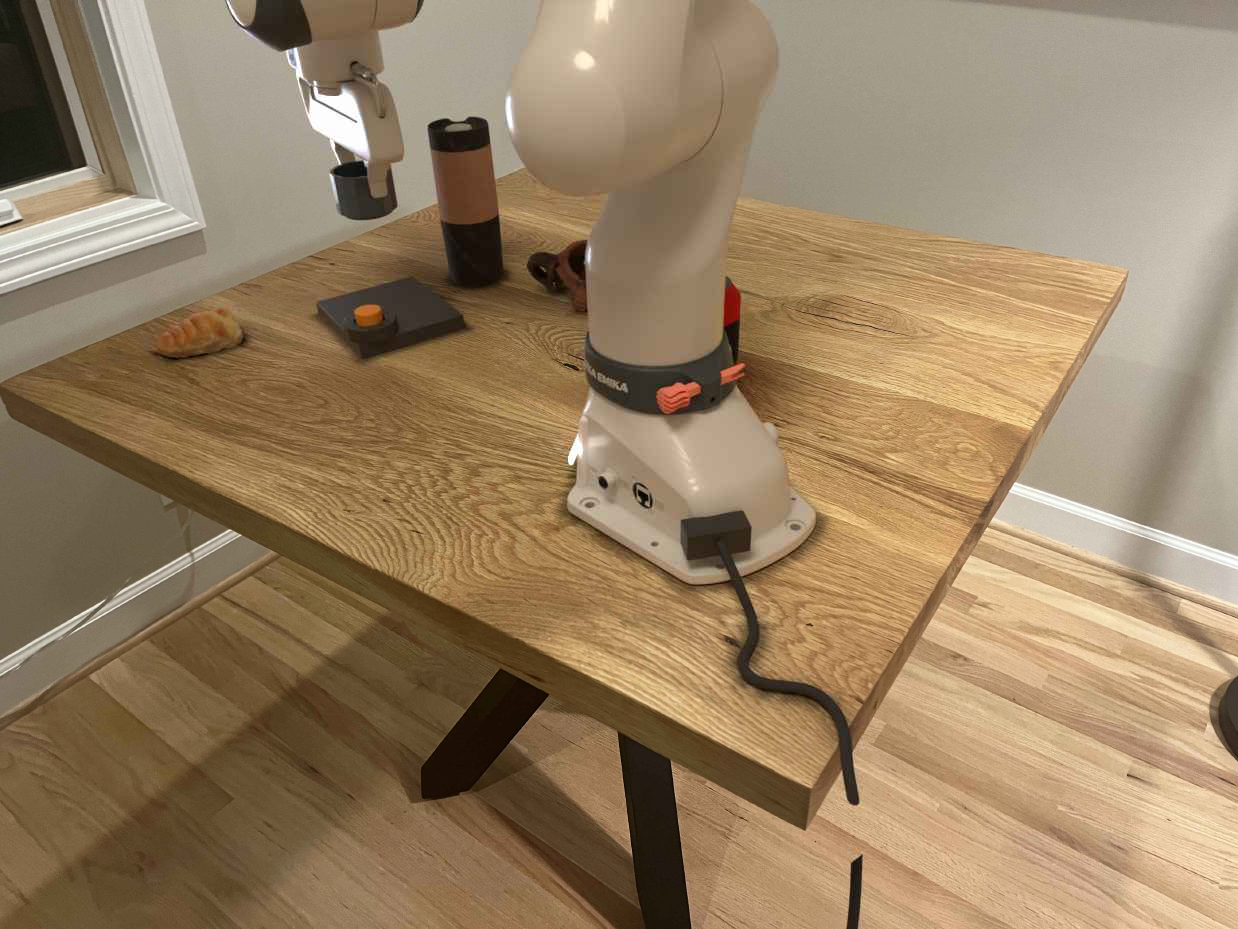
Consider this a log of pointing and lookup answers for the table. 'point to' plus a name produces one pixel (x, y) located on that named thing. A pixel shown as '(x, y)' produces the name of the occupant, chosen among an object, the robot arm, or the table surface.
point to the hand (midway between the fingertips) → (364, 186)
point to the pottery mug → (562, 271)
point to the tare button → (368, 315)
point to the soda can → (732, 317)
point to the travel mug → (467, 200)
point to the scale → (391, 317)
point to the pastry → (200, 334)
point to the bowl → (360, 192)
